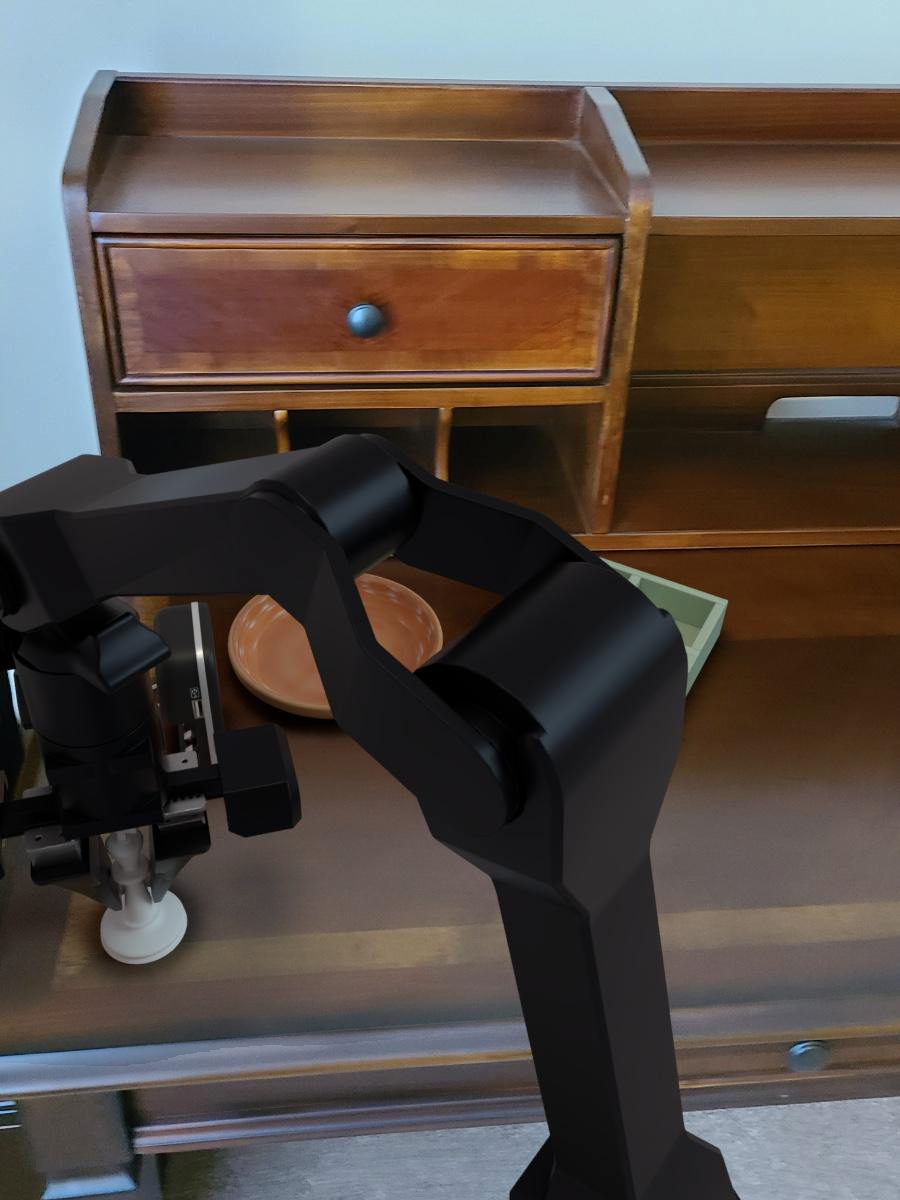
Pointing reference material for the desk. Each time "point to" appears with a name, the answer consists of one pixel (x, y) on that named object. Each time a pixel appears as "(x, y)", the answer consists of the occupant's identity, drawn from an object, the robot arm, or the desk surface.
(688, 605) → the compartment tray
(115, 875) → the chess piece
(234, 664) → the saucer
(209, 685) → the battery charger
